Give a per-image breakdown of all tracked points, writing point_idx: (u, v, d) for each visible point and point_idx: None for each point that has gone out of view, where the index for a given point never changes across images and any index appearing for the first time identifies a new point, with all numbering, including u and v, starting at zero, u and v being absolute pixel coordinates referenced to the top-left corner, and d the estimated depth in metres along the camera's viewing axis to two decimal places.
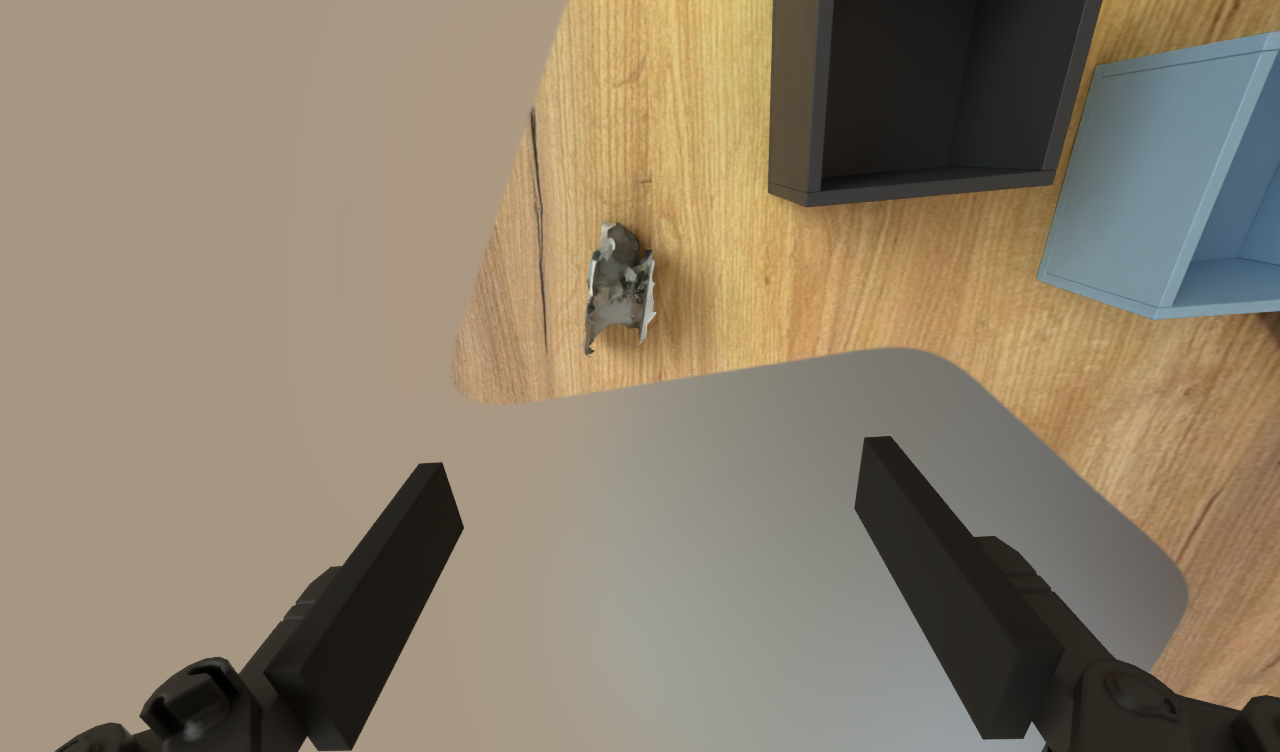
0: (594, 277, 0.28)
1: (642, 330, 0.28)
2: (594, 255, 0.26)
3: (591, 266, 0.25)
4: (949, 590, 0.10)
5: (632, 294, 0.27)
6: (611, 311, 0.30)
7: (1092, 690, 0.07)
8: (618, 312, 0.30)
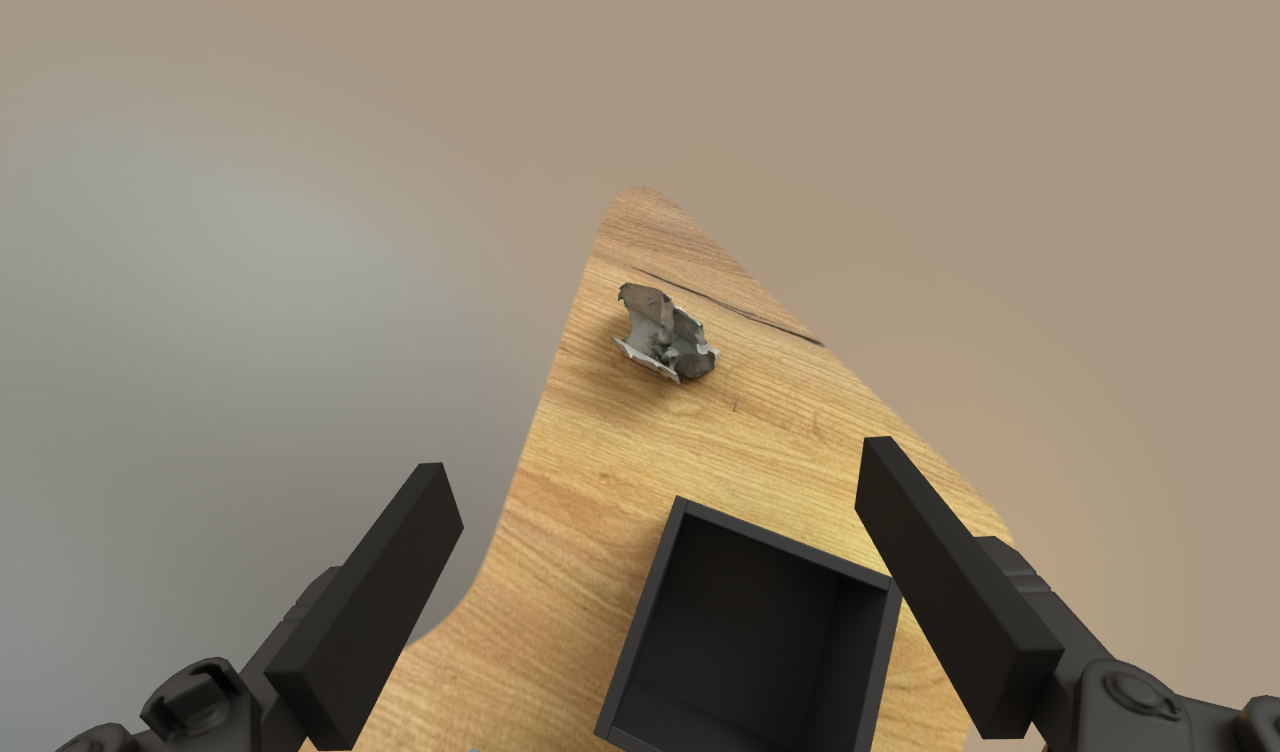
0: (681, 327, 0.31)
1: (620, 340, 0.29)
2: (701, 330, 0.29)
3: (696, 321, 0.28)
4: (949, 590, 0.10)
5: (654, 348, 0.30)
6: (642, 333, 0.33)
7: (1092, 690, 0.07)
8: (638, 338, 0.33)
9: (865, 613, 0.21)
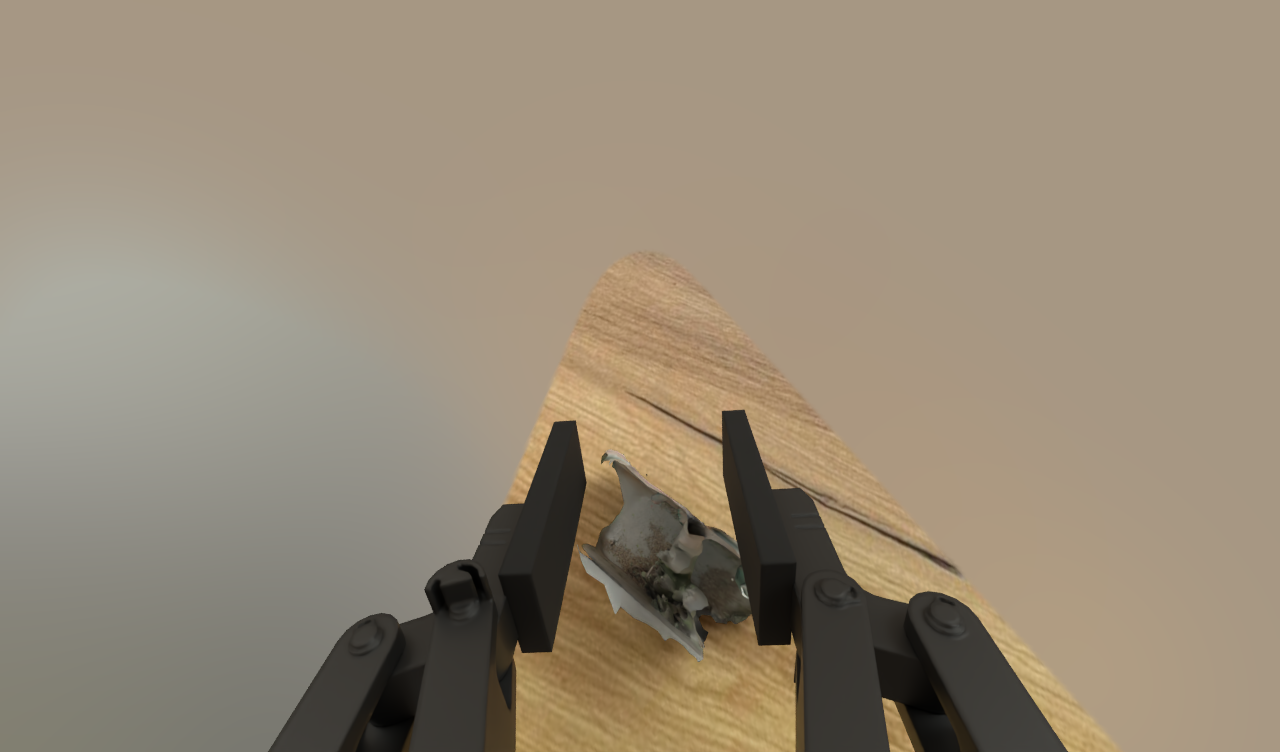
0: None
1: (598, 569, 0.15)
2: None
3: None
4: (746, 528, 0.12)
5: (660, 582, 0.16)
6: (640, 517, 0.19)
7: (808, 601, 0.09)
8: (633, 527, 0.19)
9: None
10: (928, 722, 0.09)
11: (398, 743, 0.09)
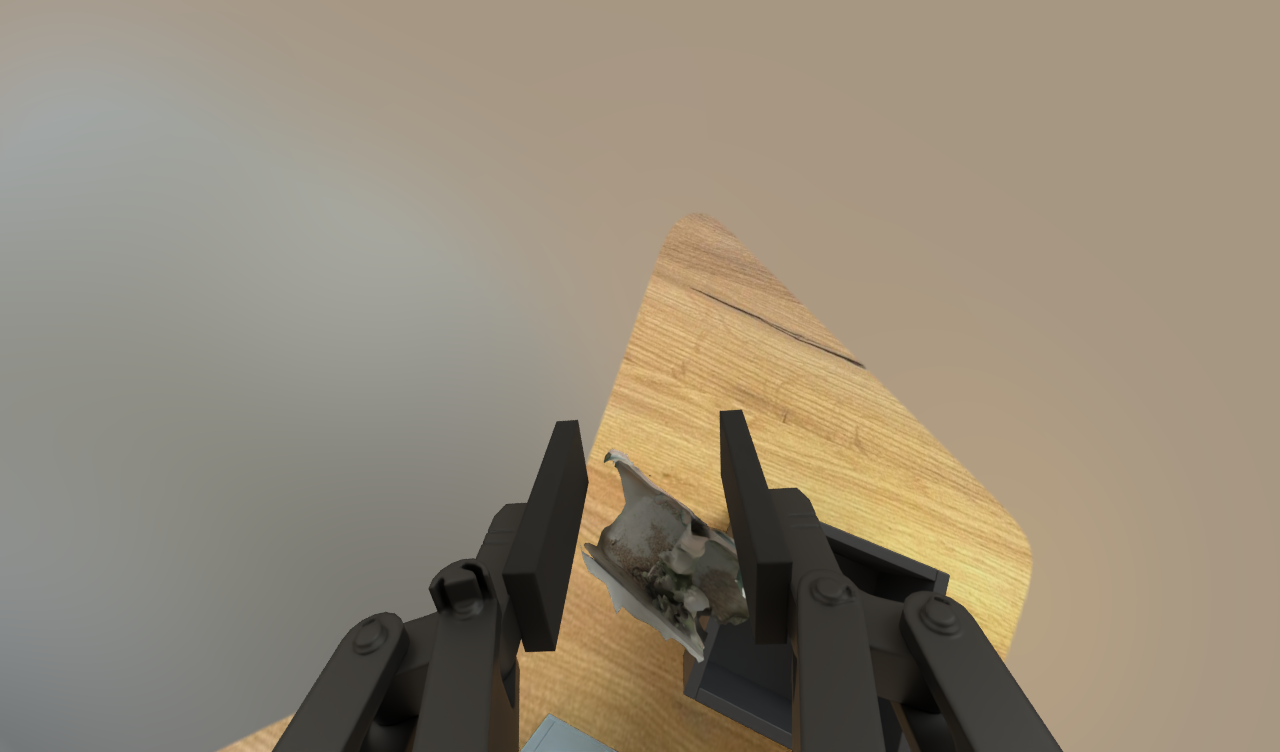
0: None
1: (600, 568, 0.16)
2: None
3: None
4: (742, 528, 0.12)
5: (661, 582, 0.16)
6: (641, 517, 0.19)
7: (804, 600, 0.09)
8: (634, 527, 0.19)
9: None
10: (924, 721, 0.09)
11: (402, 742, 0.09)
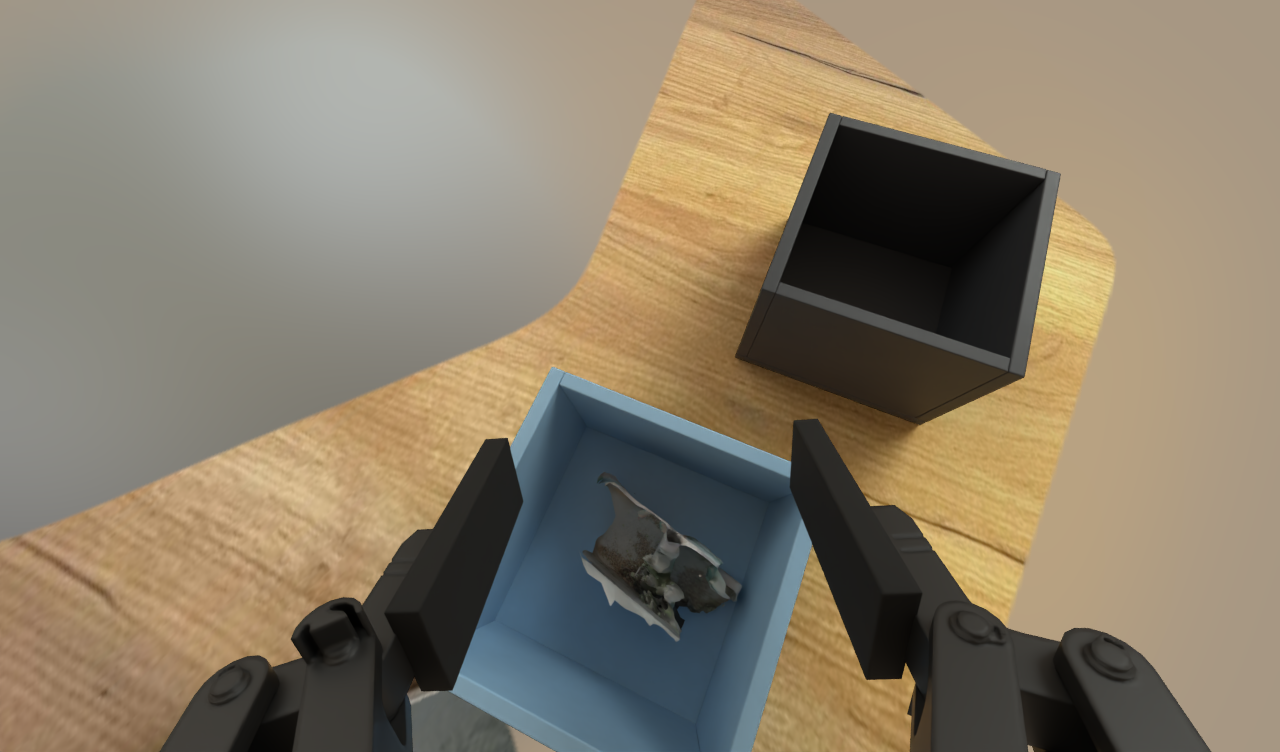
0: None
1: (596, 570, 0.19)
2: None
3: (713, 557, 0.19)
4: (844, 550, 0.11)
5: (646, 580, 0.20)
6: (629, 527, 0.23)
7: (941, 631, 0.08)
8: (623, 535, 0.23)
9: (1008, 229, 0.22)
10: None
11: None
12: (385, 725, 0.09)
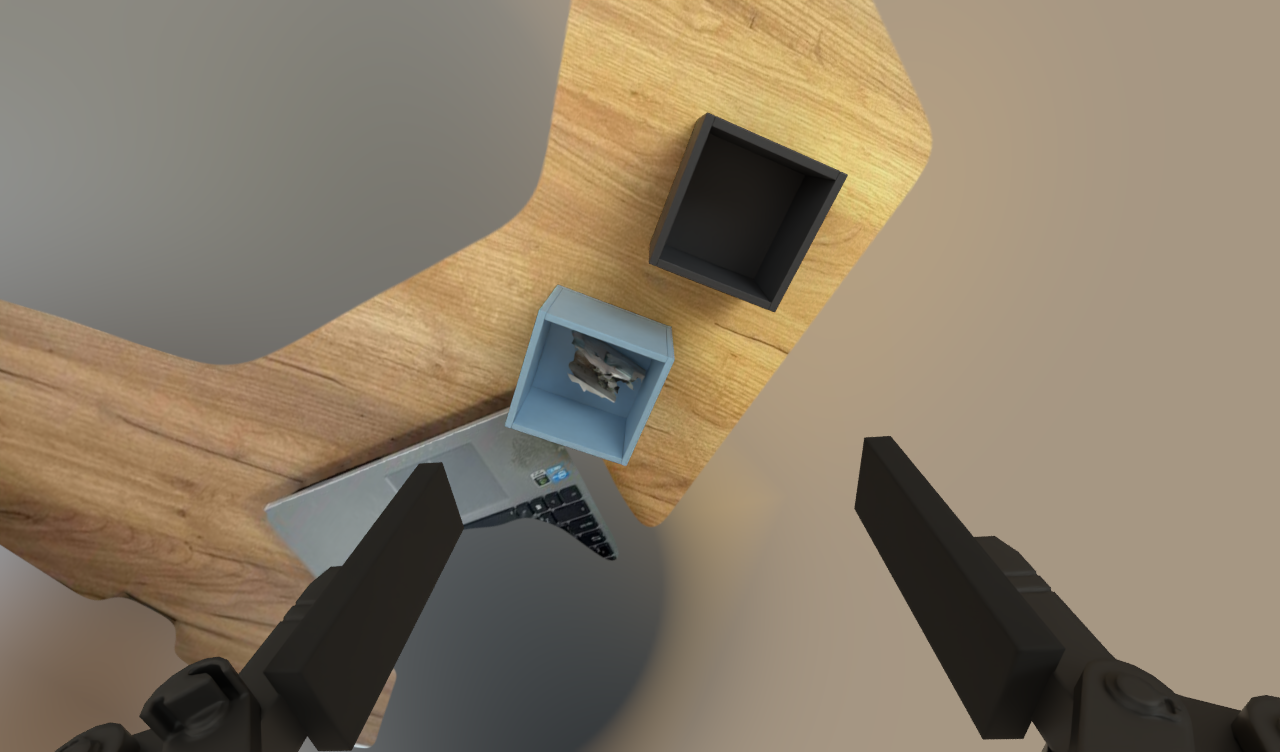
0: (618, 358, 0.43)
1: (576, 378, 0.42)
2: (632, 373, 0.42)
3: (628, 375, 0.41)
4: (949, 590, 0.10)
5: (599, 378, 0.43)
6: None
7: (1092, 690, 0.07)
8: None
9: (816, 196, 0.33)
10: None
11: None
12: None
